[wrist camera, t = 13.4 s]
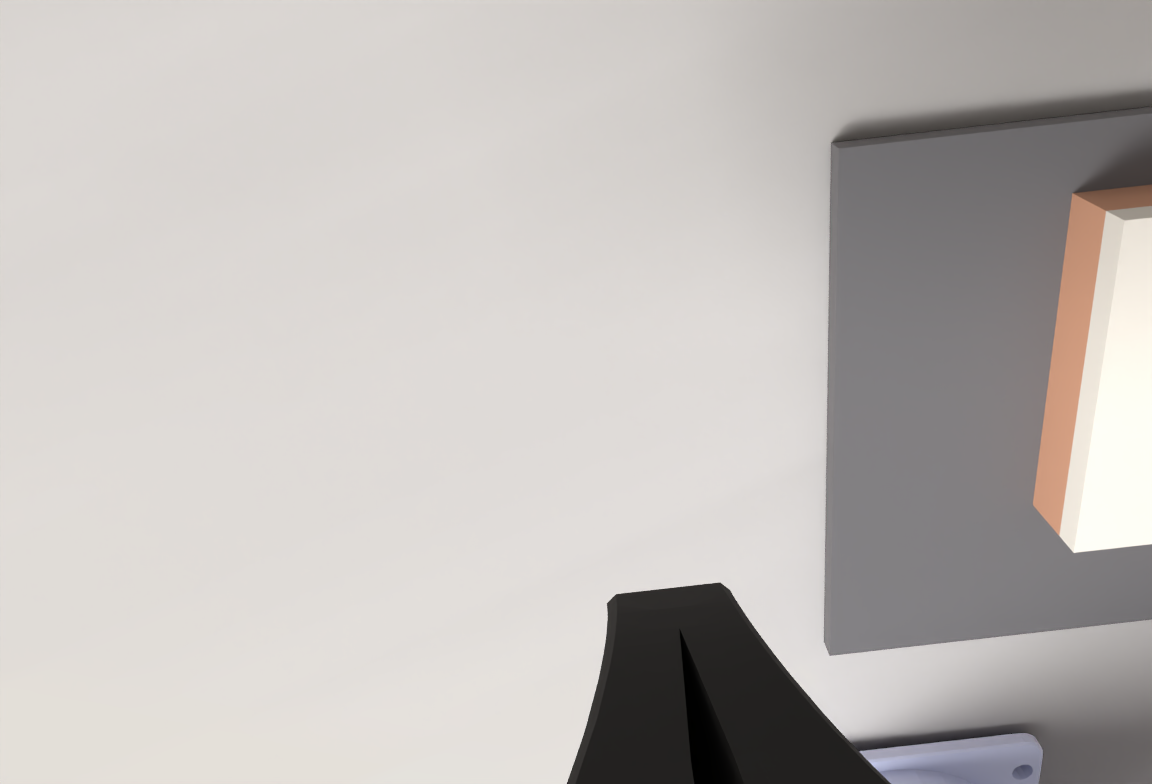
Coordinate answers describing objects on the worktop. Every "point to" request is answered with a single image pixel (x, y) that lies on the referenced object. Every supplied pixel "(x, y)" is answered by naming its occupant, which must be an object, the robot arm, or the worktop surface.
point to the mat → (959, 383)
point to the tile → (1101, 378)
